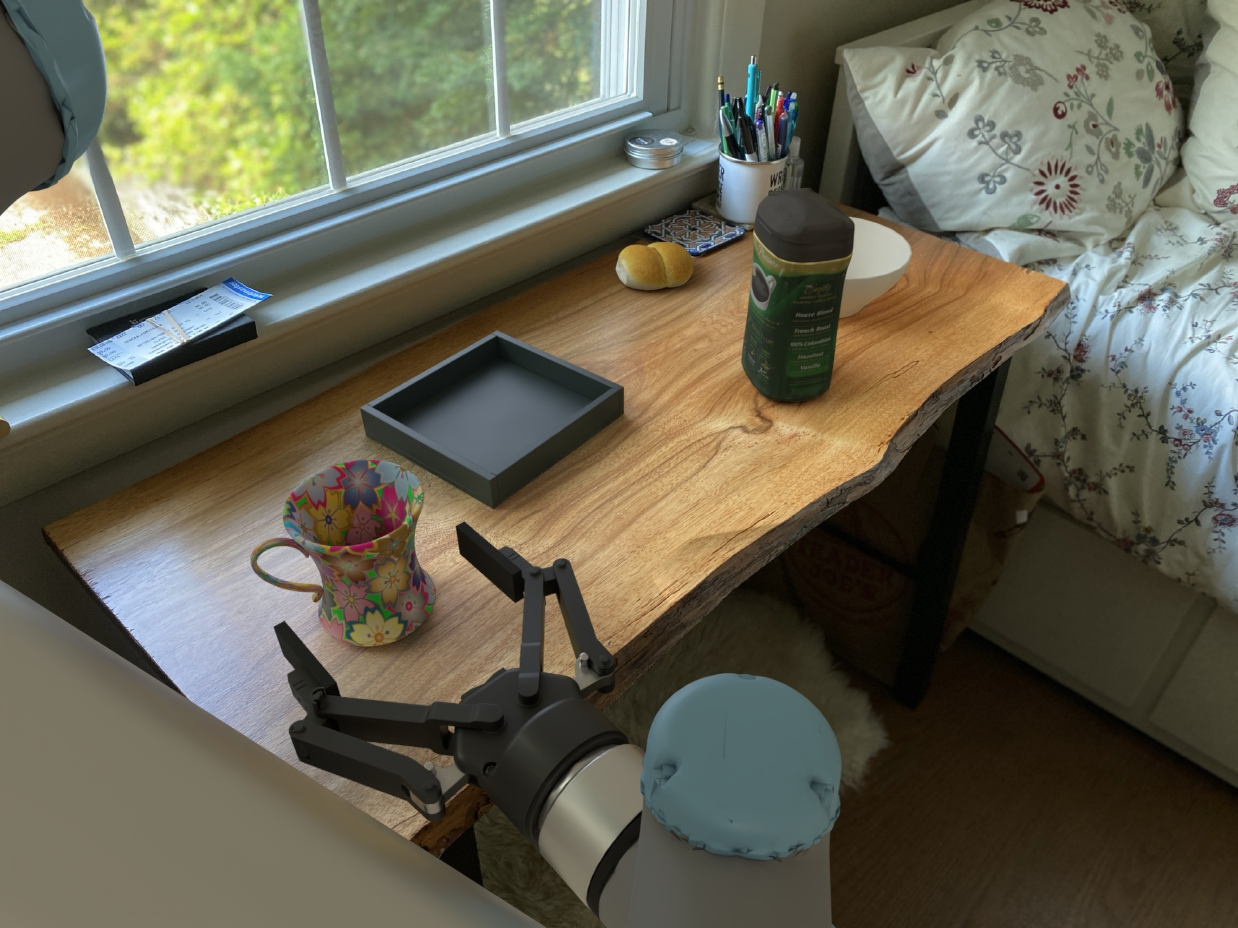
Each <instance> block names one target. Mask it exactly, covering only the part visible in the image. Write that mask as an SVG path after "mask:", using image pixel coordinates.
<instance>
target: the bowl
mask: <svg viewBox="0 0 1238 928" xmlns="http://www.w3.org/2000/svg"><path fill="white" fill-rule="evenodd" d="M848 217H849V218H850V219H852V221H853V222H854V224H855V231H854V245H853V254H852V258H851V261H850V264H849V266H848V269H847V273H846V277H845V282H844V288H843V294H842V302H841V309H840V316H839V319H844V318H848V317H851V316H854V315H856V314H858V313H859V312H860V311H862V309H864V308H865V307H866V306H867V305H868V304H870V303H872V302H874V300H876V299H879V297H881V296H883V295H884V294H885V293H887V292H889V290H891V289H892V288H893V287H894V286H895V285H896V284H897V283H898V282H899V281H901V279H902V278H903V276H904V275H905V273H907V270H908V267H909V265H910V262H911V260H912V257H913V251H912V245H911V244H910V243H909V241H908V240H907V239H906V238H905V237H904V236H903V235H901V234H900V233H898V232H897V231H895V229H892V228H890V227H888V226H885V225H883V224H881V223H878V222H874V221H871V220H868V219H865V218H859V217H855V216H848Z"/></svg>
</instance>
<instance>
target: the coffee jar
mask: <svg viewBox="0 0 1238 928" xmlns="http://www.w3.org/2000/svg"><path fill="white" fill-rule="evenodd" d="M849 217H850V216H849V215H848V214H847V213H846V212H844V210H842V209H841V208H840V207H839V206H838V205H836V204H835V203H834V202H833V201H831V200H830V199H829V198H826V197H824V196H823V195H821V194H820V193H818V192H815V191H814V190H813V189H812V188H810V187H804V188H803V187H802V188H790V189H779V190H772V191H770V192H769V193H768V194H767V195H766V196H765V197H764V198H763V199H762V200H761V201H760V203H759V204H758V206H757V209H756V213H755V218H754V224H753V231H752V233H753V234H752V245H753V246H752V247H753V249H752V250H753V251H752V253H753V255H752V269H751V270H752V271H751V278H750V279H751V282H750V289H749V295H748V303H747V304H748V305H747V312H746V313H747V314H746V322H745V326H744V327H745V328H744V335H743V342H742V350H741V359H740V361H741V362H740V363H741V366H742V368H743V371H744V374H745V375H746V377H747V379H748V380H749V382H750V383H751V384H752V385H753V387H754V389H755V390H756V391H758V393H759V394H760V395H762V396H763V397H764V398H766V399H768V400H771V401H777V402H778V401H779V402H789V403H799V402H800V403H801V402H806V401H809V400H814V399H815V398H819V397H820V396H823V395H824V394H826V393H827V392H828V391H829V390H830V389H831V385H832V379H833V371H834V365H835V358H836V357H835V356H836V349H837V339H838V338H837V337H838V331H839V323H840V318H839V316H840V309H841V302H842V294H843V288H844V282H845V277H846V273H847V269H848V266H849V264H850V261H851V258H852V254H853V245H854V231H855V224H854V222H853V221H852V219H850V218H849Z"/></svg>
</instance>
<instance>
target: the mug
mask: <svg viewBox="0 0 1238 928" xmlns="http://www.w3.org/2000/svg"><path fill="white" fill-rule="evenodd" d="M424 503H425V491H424V487H423V484H422V482H421V481H420V479H419V478H418V477H417V475H416V474H414V473H413V472H412V471H411V470H409V469H408V468H406V467H404V466H402V465H400V464H397V463H394V462H391V461H387V460H380V459H357V460H350V461H349V460H348V461H345V462H340V463H337V464H334V465H331V466H327V467H325V468H323V469H320V470H318V471H317V472H315V473H313V474H311V475H309V476H308V477H306V478H305V479H304V480H303V481H301V482H300V483H299V484H297V486H296V487H295V488H294V489H293V490H292V491H291V493H290V494H289V495H288V496H287V499H286V500H285V503H284V505H283V509H282V522H283V526H284V529H285V530H286V532H287V534H288V535H289V536H290V537H291V538H290V537H274V538H270V539H267V540H265V541H262V542H261V543H259V544H258V545H256V547H255V548H254V549H253V550H252V551H251V553H250V558H249V563H250V566H251V569H252V571H253V572H254V574H255V575H256V576H257V577H259V578H260V579H261V580H263V581H264V582H266V583H267V584H269V585H271V586H274V587H277V588H280V589H282V590H287V591H291V592H296V593H297V592H298V593H313V594H312V596H311V601H312V602H313V603H315V604H317V603H318V609H317V613H318V619H319V622H320V624H321V626H322V628H323V629H324V630H325V632H326V633H327V634H328V635H329V636H331V637H332V638H333V639H335V640H337V641H339V642H341V643H344V644H346V645H350V646H354V647H377V646H384V645H388V644H391V643H394V642H396V641H399V640H401V639H404V638H406V637H407V636H409V635H411V634H412V633H413V632H415V631H416V630H417V629H419V628H420V627H421V626H422V625H423V624H424V622H426V620H427V619H428V618H429V616H430V615H431V613H432V612H433V609H434V606H435V603H436V598H437V597H436V596H437V590H436V589H437V588H436V585H435V583H434V580H433V579H432V577H431V575H430V574H429V573H428V572H427V571H426V570H425V569H424V568H423V567H422V566H421V564H420V562H419V559H418V556H417V552H416V541H415V540H416V531H417V525H418V521H419V518H420V515H421V512H422V510H423V508H424ZM279 547H287V548H293V549H295V550H297V551H299V552H300V553H302V554H303V556H304V557H305V558H306V559H308V558H311V560H312V561H313V562H314V564H315V566H316V568H317V570H318V572H319V576H320V578H321V584H322V585H320V584H317V583H304V582H294V581H288V580H286V579H285V580H284V579H281V578H279V577H277V576H274V575H271V574H270V573H268V572H266V571H265V570H263V568H261V567H260V566H259V564H258V560H259V557H260V556H261V555H263V553H265V552H267V551H269V550H271V549H274V548H279Z"/></svg>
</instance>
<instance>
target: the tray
mask: <svg viewBox="0 0 1238 928" xmlns="http://www.w3.org/2000/svg"><path fill="white" fill-rule="evenodd" d="M359 410H360V415H361V419H362V424H363V429H364V434H365V436H367V437H368V438H369V439H372V440H373V441H375V442H377V443H378V444H380V445H382V446H384V447H385V448H387V449H389V450H391V451H393V452H394V453H396V455H399V456H401V457H403V458H405V459H406V460H408V461H410V462H411V463H413V464H415V465H416V466H418V467H419V468H422V469H423V470H425V471H427V472H429V474H432V475H434V476H436V477H437V478H439V479H440V480H442V481H444V482H446V483H447V484H449V485H451V486H453V487H455V488H456V489H458V490H459V491H461V492H462V493H464V494H466V495H469V496H470V497H472V498H473V499H475V500H477V501H479V502H480V503H482V504H484V505H486V506H487V507H489V508H490V509H492V510H493V509H495V508H497V507H498V506H500V505H501V504H503V503H504V502H506V500H508V499H509V498H511V497H512V496H513V495H514V494H517V492H519V491H521V490H522V489H523V488H524V487H526V486H527V485H529V484H530V483H531V482H533V481H534V480H535V479H536V478H539V476H540V475H542V474H544V473H545V472H546V471H547V470H549V469H550V468H552V467H553V466H554V465H556V464H557V463H558V462H560V461H561V460H563V459H564V458H566V457H567V456H568V455H570V454H571V453H573V452H574V451H575V450H576V449H578V448H579V447H580V446H582V445H583V444H585V443H586V442H587V441H589V440H590V439H592V438H593V437H594V436H596V435H597V434H599V433H600V432H601V431H603V429H605V428H607V427H608V426H610V425H611V424H612V423H613V422H615V421H616V420H618V419H619V418H621V417H623V415H624V414H625V387H624V386H623V385H621V384H619V383H616V382H614V381H612V380H609V379H608V378H605V377H603V376H601V375H598V374H596V373H595V372H592V371H589V370H587V369H585V368H582V367H580V366H578V365H577V364H573V363H572V362H569V361H567V360H565V359H562V358H560V357H558V356H556V355H553V354H551V353H549V352H547V351H544V350H542V349H540V348H537V347H536V346H533V345H531V344H529V343H526V342H524V341H522V340H519V339H518V338H515V337H513V336H511V335H508V334H506V333H504V332H501V331H500V330H495V331H494V332H492V333H490V334H488V335H486V336H485V337H483V338H481V339H479V340H477V341H476V342H474V343H472V344H471V345H469V346H467V347H465V348H464V349H461V350H460V351H458V352H456V353H455V354H452V355H451V356H450V357H447V358H446V359H444V360H442V361H440V362H439V363H437V364H435V365H433V366H432V367H429V368H428V369H426V370H425V371H423V372H421V373H419V374H417V375H415V376H414V377H412V378H410V379H409V380H406V381H405V382H403V383H401V384H400V385H398V386H396V387H394V388H392V389H391V390H389V391H388V392H386V393H384V394H382V395H381V396H378V397H376V398H375V399H374V400H371V401H369V402H368V403H366V404H364V405H362V406H360V407H359Z"/></svg>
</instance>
